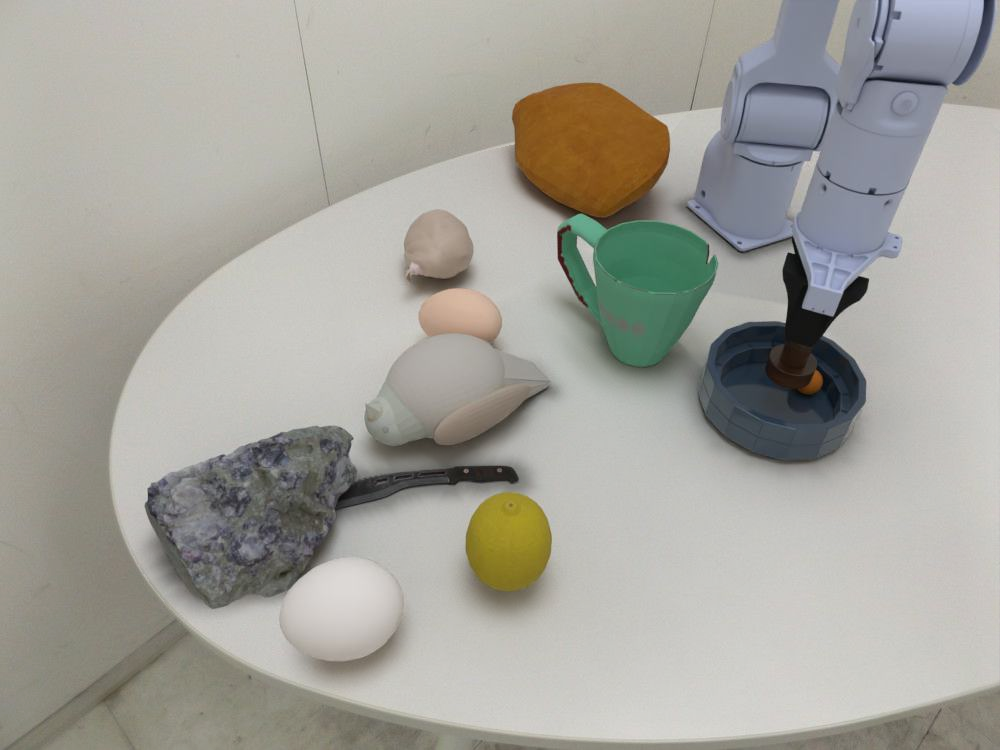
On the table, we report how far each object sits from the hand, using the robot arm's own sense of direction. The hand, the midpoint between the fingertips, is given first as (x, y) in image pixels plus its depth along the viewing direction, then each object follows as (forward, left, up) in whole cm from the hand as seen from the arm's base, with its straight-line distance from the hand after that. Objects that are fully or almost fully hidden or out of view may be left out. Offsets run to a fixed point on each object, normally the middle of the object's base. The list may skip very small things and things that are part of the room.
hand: (801, 331), depth 64 cm
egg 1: (+5, -34, -4) cm, 35 cm away
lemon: (+5, -27, -8) cm, 29 cm away
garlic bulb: (-28, -14, -6) cm, 32 cm away
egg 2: (-14, -18, -4) cm, 23 cm away
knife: (-3, -30, -8) cm, 32 cm away
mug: (-13, -7, -8) cm, 17 cm away
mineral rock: (-10, -41, -5) cm, 42 cm away
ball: (0, +3, -7) cm, 7 cm away
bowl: (0, 0, -8) cm, 8 cm away
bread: (-35, +6, -9) cm, 37 cm away
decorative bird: (-10, -24, -8) cm, 27 cm away
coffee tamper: (0, 0, -4) cm, 4 cm away
